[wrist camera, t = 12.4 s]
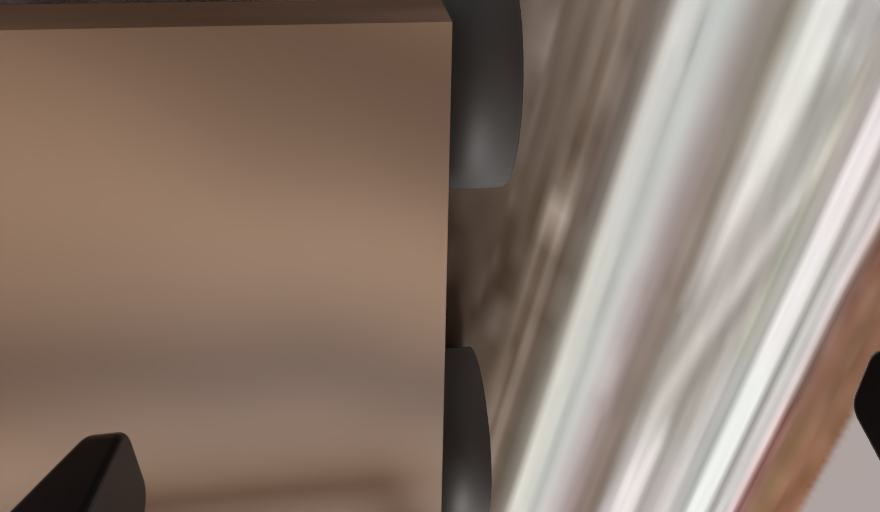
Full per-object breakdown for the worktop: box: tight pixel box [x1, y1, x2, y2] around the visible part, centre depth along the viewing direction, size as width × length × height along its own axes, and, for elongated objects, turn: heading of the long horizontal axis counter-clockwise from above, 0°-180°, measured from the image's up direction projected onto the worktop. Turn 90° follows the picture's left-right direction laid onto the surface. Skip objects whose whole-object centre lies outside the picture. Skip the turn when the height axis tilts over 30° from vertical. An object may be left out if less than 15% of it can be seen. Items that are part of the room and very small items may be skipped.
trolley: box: [0, 0, 523, 512], centre depth 16 cm, size 16×13×10 cm
